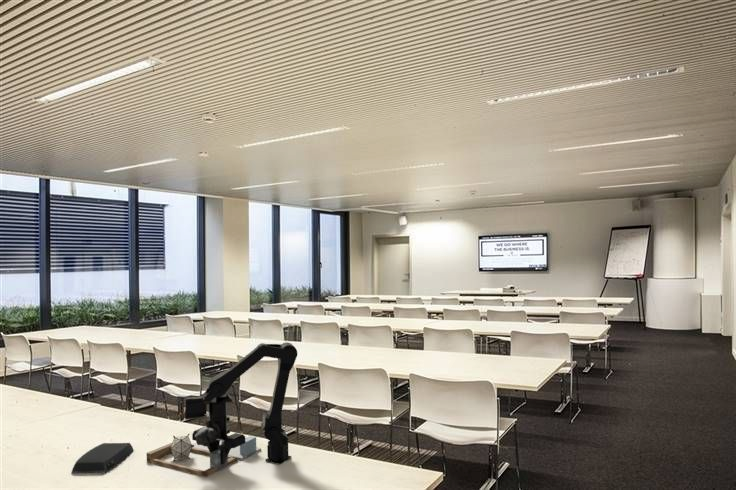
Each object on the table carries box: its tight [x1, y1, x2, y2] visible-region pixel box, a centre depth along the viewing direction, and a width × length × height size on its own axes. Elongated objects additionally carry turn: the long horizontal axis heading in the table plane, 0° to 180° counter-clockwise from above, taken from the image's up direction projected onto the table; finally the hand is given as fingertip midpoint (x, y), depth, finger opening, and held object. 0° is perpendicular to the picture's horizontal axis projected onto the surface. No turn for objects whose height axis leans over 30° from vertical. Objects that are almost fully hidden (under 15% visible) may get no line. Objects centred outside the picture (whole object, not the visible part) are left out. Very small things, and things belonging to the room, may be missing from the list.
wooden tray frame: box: [146, 441, 239, 478], centre depth 182 cm, size 28×14×6 cm, turn 61°
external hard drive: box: [70, 442, 135, 474], centre depth 183 cm, size 13×19×4 cm
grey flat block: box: [191, 435, 262, 461], centre depth 192 cm, size 26×10×6 cm, turn 61°
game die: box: [169, 433, 194, 463], centre depth 184 cm, size 9×8×10 cm
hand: (219, 463), depth 176 cm, fingers closed on wooden tray frame, 3 cm apart
